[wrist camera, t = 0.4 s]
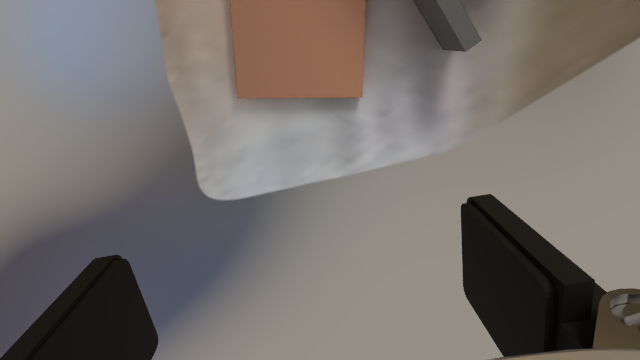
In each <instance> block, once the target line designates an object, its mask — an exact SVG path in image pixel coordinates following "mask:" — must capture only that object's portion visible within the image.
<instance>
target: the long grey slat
mask: <svg viewBox="0 0 640 360" xmlns="http://www.w3.org/2000/svg"><path fill="white" fill-rule="evenodd" d="M414 2H415V4H416V5H417V7H418V9H419V10H420V12H421V14H422V15H423V17H424V19H425V20H426V22H427V24H428V25H429V27H430V29H431V30H432V32H433V34H434V36H435V37H436V39H437V41H438V42H439V44H440V46H441V47H442V49H443V50H453V51H464V52H466V51H467V50H469V49H470V48H471V47H473V46H474V45H476V44H477V43H478V42H480V41H481V38H480V36H479V34H478V33H477V31H476V29H475V27H474V25H473V24H472V22H471V20H470V18H469V16H468V15H467V13H466V11H465V9H464V7H463V6H462V4H461V2H460V0H414Z"/></svg>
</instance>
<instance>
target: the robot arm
mask: <svg viewBox="0 0 640 360" xmlns="http://www.w3.org/2000/svg"><path fill="white" fill-rule="evenodd" d="M461 228H462V261H463V287H464V292H465V295H466V297H467V299H468V301H469V302H470V304H471V305H472V307H473V309H474V310H475V312H476V313H477V315H478V316H479V318H480V320H481V321H482V323H483V325H484V326H485V328H486V329H487V331H488V332H489V334H490V336H491V337H492V339H493V340H494V342H495V344H496V345H497V347H498V348H499V350H500V352H501V353H502V355H503V356H504V357H501V358H495V359H488V360H640V290H639V289H617V290H613V291H609V292H608V293H607V292H606V291H605V290H603V289H602V288H601V287H600V286H598V285H597V284H596V283H595V280H594V279H593V278H591V277H590V276H589V275H588V274H587V273H585V272H584V271H583V270H582V269H580V268H579V267H578V266H577V265H576V264H574V263H573V262H572V261H571V260H570V259H568V258H567V257H566V256H565V255H564V254H562V253H561V252H560V251H559V250H557V249H556V248H555V247H554V246H553V245H552V244H550V243H549V242H548V241H546V239H544V238H543V237H542V236H541V235H539V234H538V233H537V232H536V231H535V230H534V229H532V228H531V227H530V226H529V225H528V224H526V223H525V222H524V221H523V220H521V219H520V218H519V217H518V216H517V215H515V214H514V213H513V212H512V211H511V210H509V209H508V208H507V207H506V206H505V205H503V204H502V203H501V202H500V201H499V200H497V199H496V198H495V197H494V196H493V195H491V194H488V195H481V196H475V197H469V198H468V199H467V203H465V204H462V205H461ZM157 345H158V335H157V332H156V330H155V327H154V324H153V322H152V320H151V317H150V314H149V312H148V309H147V307H146V304H145V302H144V299H143V296H142V294H141V291H140V289H139V287H138V284H137V281H136V279H135V276H134V274H133V271H132V269H131V266H130V264H129V262H128V261H127V260H126V259H122V258H121V257H120V256H119V255H113V256H107V257H101V258H95V259H94V260H93V261H92V262H91V263H90V264H89V265H88V266H87V267H86V268H85V269H84V270H83V271H82V272H81V273H80V274H79V276H78V277H77V278H76V279H75V280H74V281H73V282H72V283H71V284H70V285H69V286H68V287H67V288H66V289H65V291H63V292H62V294H61V295H60V296H59V297H58V298H57V299H56V300H55V301H54V302H53V303H52V304H51V305H50V306H49V307H48V308H47V309H46V311H45V312H44V313H43V314H42V315H41V316H40V317H39V318H38V319H37V320H36V321H35V322H34V323H33V324H32V325H31V326H30V327H29V329H28V330H27V331H26V332H25V333H24V334H23V335H22V336H21V337H20V338H19V339H18V340H17V341H16V342H15V343H14V344H13V346H12V347H11V348H10V349H9V350H8V351H7V352H6V353H5V354H4V355H3V356H2V357H1V358H0V360H151V359H152V357H153V355H154V353H155V351H156V348H157Z"/></svg>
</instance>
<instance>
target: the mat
mask: <svg viewBox="0 0 640 360" xmlns="http://www.w3.org/2000/svg"><path fill="white" fill-rule="evenodd" d="M230 4H231V18H232V31H233V45H234V58H235V72H236V85H237V98H349V97H362V84H363V58H364V33H365V7H366V0H230Z"/></svg>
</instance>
